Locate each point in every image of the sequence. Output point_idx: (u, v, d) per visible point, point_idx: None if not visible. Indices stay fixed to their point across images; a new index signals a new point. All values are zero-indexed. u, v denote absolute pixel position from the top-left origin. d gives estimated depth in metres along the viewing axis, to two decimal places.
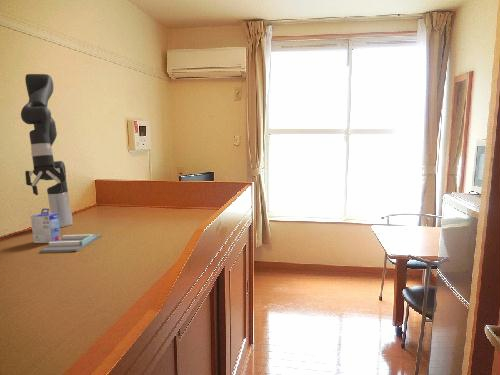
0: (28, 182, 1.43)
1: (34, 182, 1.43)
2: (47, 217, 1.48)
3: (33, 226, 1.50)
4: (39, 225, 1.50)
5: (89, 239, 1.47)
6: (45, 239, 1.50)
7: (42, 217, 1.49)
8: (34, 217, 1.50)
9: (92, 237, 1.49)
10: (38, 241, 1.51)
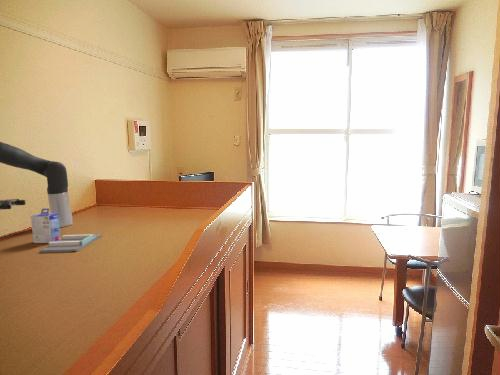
0: None
1: (13, 205, 1.56)
2: (47, 217, 1.48)
3: (33, 226, 1.50)
4: (39, 225, 1.50)
5: (89, 239, 1.47)
6: (45, 239, 1.50)
7: (42, 217, 1.49)
8: (34, 217, 1.50)
9: (92, 237, 1.49)
10: (38, 241, 1.51)
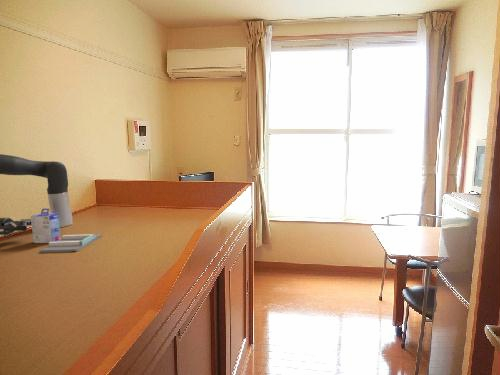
0: None
1: (28, 225, 1.57)
2: (47, 217, 1.48)
3: (33, 226, 1.50)
4: (39, 225, 1.50)
5: (89, 239, 1.47)
6: (45, 239, 1.50)
7: (42, 217, 1.49)
8: (34, 217, 1.50)
9: (92, 237, 1.49)
10: (38, 241, 1.51)
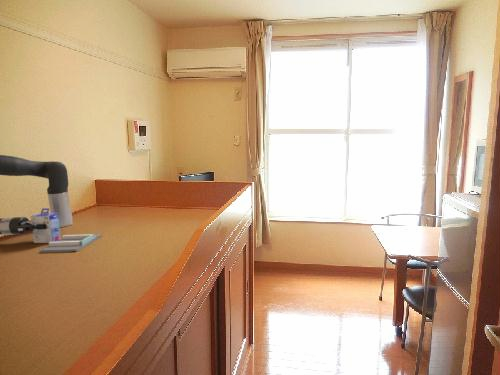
0: None
1: None
2: (47, 217, 1.48)
3: None
4: None
5: (89, 239, 1.47)
6: (45, 239, 1.50)
7: (42, 217, 1.49)
8: (34, 217, 1.50)
9: (92, 237, 1.49)
10: (38, 241, 1.51)
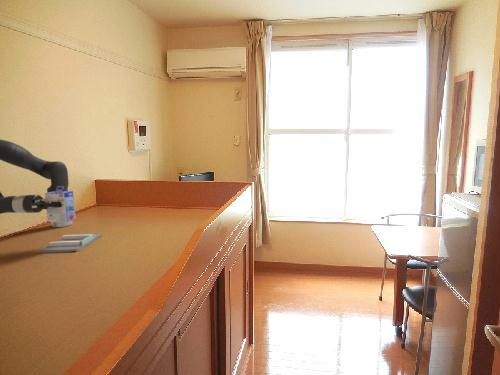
0: None
1: None
2: (62, 194, 1.41)
3: None
4: None
5: (89, 239, 1.47)
6: (59, 217, 1.43)
7: (57, 194, 1.42)
8: (48, 194, 1.43)
9: (92, 237, 1.49)
10: (52, 220, 1.44)
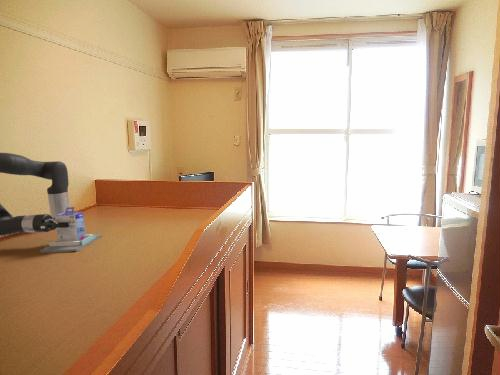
0: None
1: None
2: (73, 216, 1.42)
3: None
4: None
5: (89, 239, 1.47)
6: (70, 239, 1.44)
7: (67, 216, 1.43)
8: (59, 216, 1.43)
9: (92, 237, 1.49)
10: None
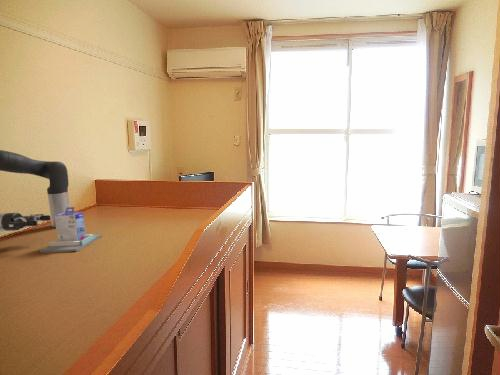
0: None
1: None
2: (73, 216, 1.42)
3: (58, 226, 1.44)
4: (64, 225, 1.44)
5: (89, 239, 1.47)
6: (70, 239, 1.44)
7: (67, 216, 1.43)
8: (59, 216, 1.43)
9: (92, 237, 1.49)
10: None
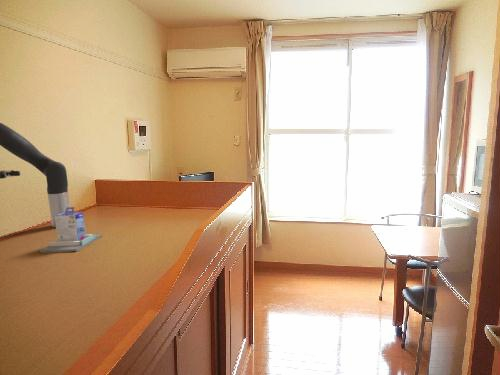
0: None
1: None
2: (73, 216, 1.42)
3: (58, 226, 1.44)
4: (64, 225, 1.44)
5: (89, 239, 1.47)
6: (70, 239, 1.44)
7: (67, 216, 1.43)
8: (59, 216, 1.43)
9: (92, 237, 1.49)
10: None
